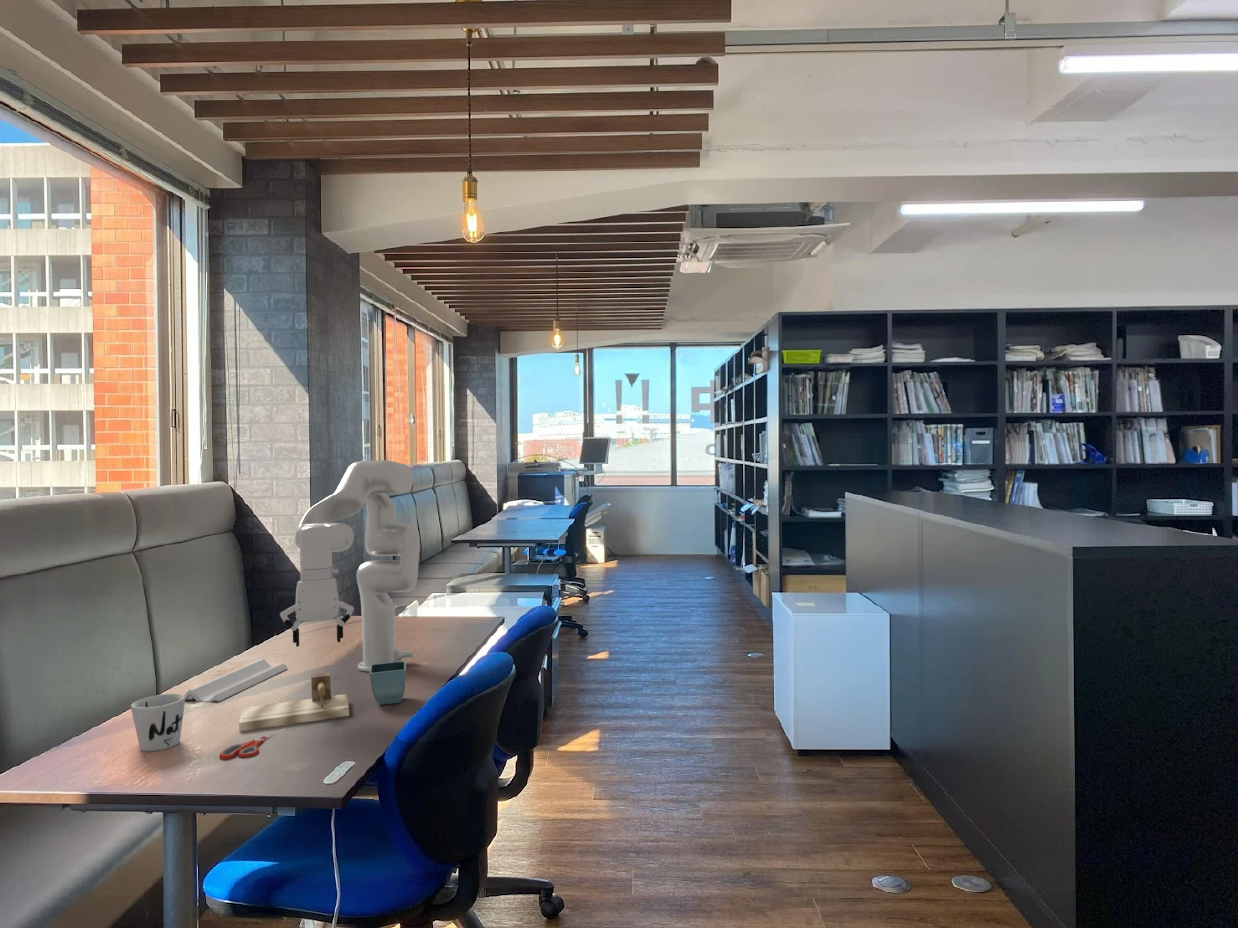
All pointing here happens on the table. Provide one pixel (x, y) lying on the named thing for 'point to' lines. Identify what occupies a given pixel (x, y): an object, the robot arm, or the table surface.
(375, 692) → the flower pot
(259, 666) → the crown molding
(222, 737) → the table surface
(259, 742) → the scissors
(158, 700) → the mug
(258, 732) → the table surface
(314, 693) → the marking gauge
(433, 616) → the table surface
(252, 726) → the maple board
